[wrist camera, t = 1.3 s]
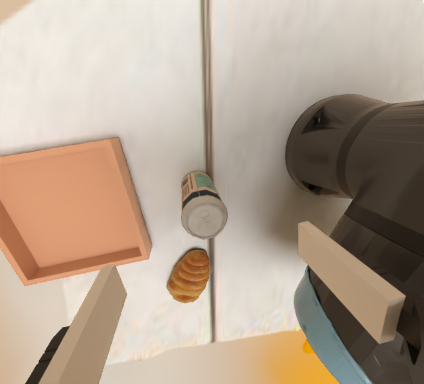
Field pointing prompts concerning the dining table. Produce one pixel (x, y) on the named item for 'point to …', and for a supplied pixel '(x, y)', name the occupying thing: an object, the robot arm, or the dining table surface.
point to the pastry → (189, 276)
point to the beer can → (202, 206)
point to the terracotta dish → (69, 211)
